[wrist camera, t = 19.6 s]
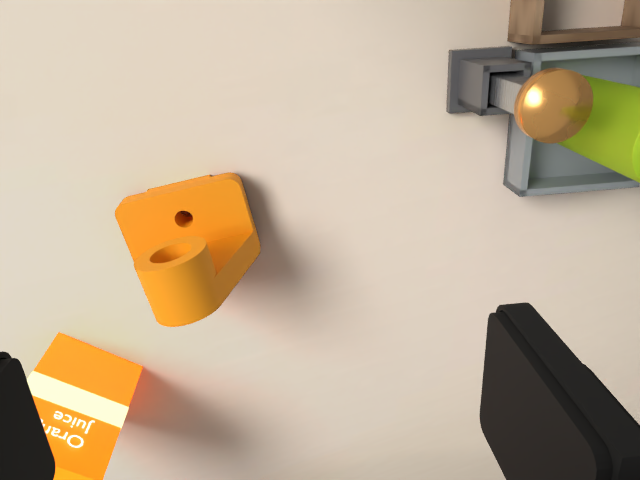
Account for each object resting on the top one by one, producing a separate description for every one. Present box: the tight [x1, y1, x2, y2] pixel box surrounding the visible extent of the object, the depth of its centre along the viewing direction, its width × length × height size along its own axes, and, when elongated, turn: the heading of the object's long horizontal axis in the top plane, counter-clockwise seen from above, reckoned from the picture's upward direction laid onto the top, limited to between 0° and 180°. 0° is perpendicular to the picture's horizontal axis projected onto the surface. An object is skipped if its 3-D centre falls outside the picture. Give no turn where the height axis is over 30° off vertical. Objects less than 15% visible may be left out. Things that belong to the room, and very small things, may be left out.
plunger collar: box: [446, 46, 532, 116], centre depth 42 cm, size 5×5×6 cm
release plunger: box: [488, 68, 593, 144], centre depth 38 cm, size 4×4×13 cm
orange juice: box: [27, 332, 143, 480], centre depth 44 cm, size 8×9×20 cm
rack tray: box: [503, 42, 640, 197], centre depth 45 cm, size 12×11×4 cm
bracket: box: [115, 173, 260, 327], centre depth 42 cm, size 11×7×12 cm
